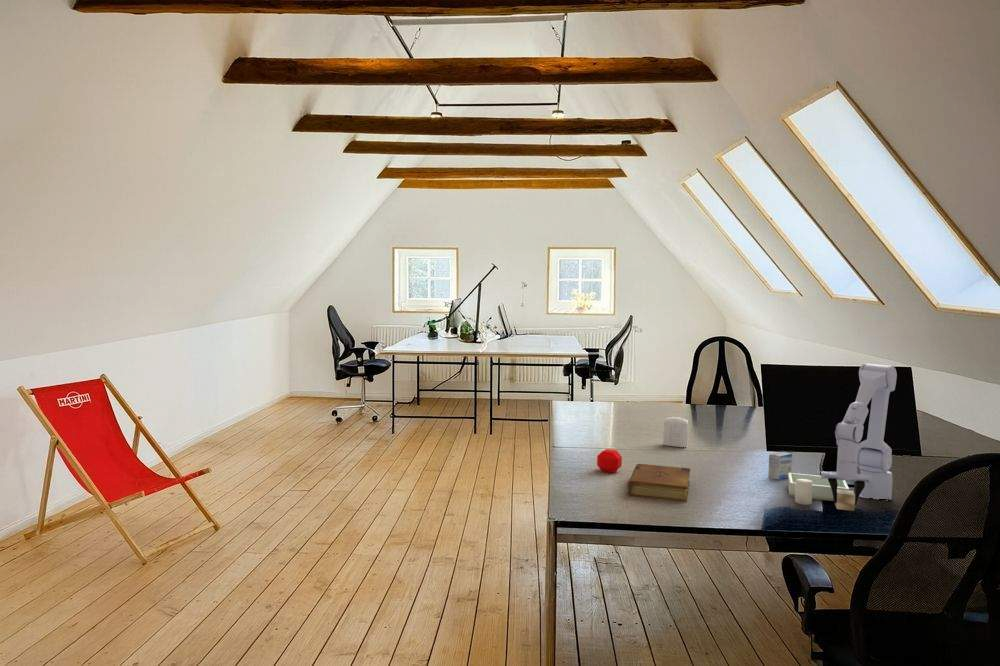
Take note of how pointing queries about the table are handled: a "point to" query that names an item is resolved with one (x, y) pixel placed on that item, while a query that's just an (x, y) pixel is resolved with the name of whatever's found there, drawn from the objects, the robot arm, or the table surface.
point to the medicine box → (780, 465)
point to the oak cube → (845, 500)
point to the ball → (609, 460)
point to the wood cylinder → (803, 491)
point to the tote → (815, 486)
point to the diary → (659, 482)
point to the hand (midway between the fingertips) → (844, 503)
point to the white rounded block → (676, 432)
